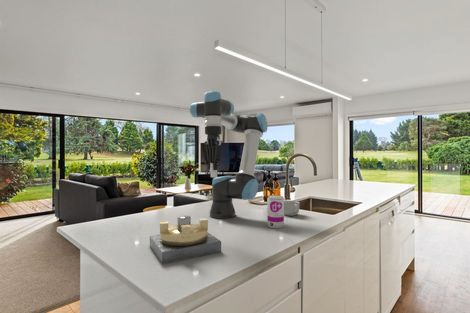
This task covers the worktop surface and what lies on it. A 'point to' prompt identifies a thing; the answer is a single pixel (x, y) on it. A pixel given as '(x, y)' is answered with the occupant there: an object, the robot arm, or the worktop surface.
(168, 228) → the ring nut
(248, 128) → the robot arm
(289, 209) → the teacup
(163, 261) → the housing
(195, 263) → the worktop surface
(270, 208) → the supplement can
